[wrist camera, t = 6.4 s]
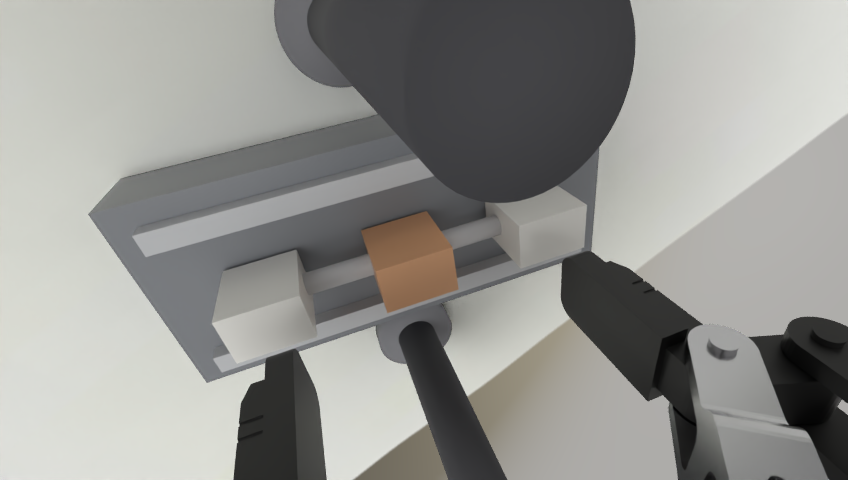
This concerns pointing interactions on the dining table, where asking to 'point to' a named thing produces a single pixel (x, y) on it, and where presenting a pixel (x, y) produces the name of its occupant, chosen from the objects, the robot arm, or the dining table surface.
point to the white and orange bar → (386, 269)
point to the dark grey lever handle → (440, 392)
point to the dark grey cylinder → (476, 80)
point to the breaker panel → (293, 228)
